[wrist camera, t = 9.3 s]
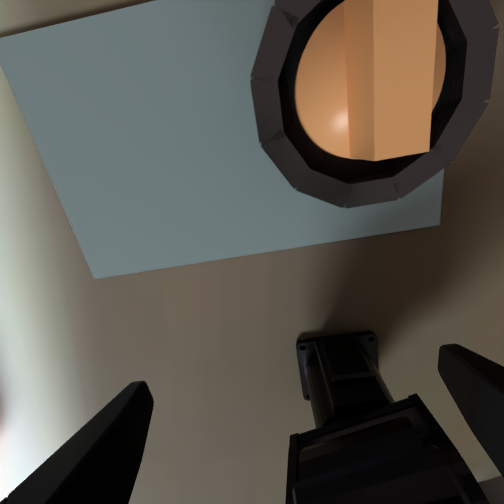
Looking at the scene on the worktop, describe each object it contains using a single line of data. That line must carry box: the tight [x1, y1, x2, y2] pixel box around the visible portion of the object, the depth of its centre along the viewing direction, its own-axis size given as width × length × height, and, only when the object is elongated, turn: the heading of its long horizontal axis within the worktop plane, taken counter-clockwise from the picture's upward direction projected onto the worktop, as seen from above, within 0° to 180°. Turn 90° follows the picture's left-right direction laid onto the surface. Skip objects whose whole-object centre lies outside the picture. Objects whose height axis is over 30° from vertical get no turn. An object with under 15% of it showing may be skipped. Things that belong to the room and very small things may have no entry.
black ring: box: [250, 0, 499, 209], centre depth 14 cm, size 10×10×4 cm
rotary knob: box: [293, 0, 446, 161], centre depth 11 cm, size 6×6×4 cm
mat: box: [0, 0, 444, 279], centre depth 17 cm, size 15×25×1 cm, turn 100°
